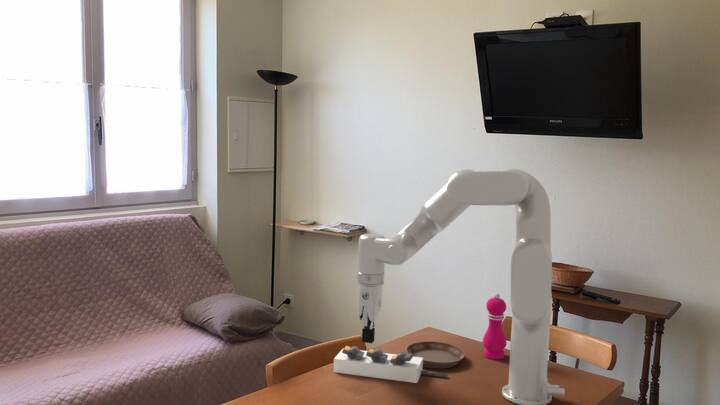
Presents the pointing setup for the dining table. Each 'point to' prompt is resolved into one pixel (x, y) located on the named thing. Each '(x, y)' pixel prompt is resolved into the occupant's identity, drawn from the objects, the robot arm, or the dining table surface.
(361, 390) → the dining table surface
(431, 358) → the plant saucer
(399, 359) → the switch
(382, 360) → the switch middle
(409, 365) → the power strip
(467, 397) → the dining table surface
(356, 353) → the switch
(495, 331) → the pepper mill
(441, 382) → the dining table surface
